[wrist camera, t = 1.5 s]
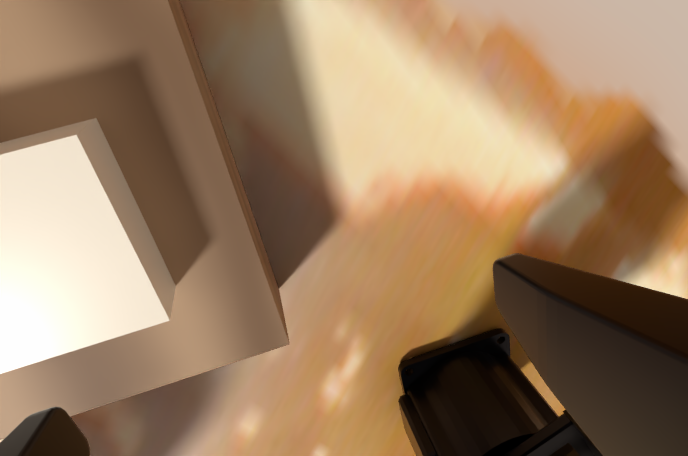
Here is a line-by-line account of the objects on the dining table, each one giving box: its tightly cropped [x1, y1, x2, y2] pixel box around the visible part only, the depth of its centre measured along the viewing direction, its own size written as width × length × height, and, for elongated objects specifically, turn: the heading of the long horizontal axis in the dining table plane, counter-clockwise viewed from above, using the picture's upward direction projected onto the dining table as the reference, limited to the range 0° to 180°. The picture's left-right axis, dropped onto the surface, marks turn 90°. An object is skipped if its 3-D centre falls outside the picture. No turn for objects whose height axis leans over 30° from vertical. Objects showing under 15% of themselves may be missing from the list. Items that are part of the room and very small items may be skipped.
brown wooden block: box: [0, 0, 289, 440], centre depth 16 cm, size 14×14×4 cm
